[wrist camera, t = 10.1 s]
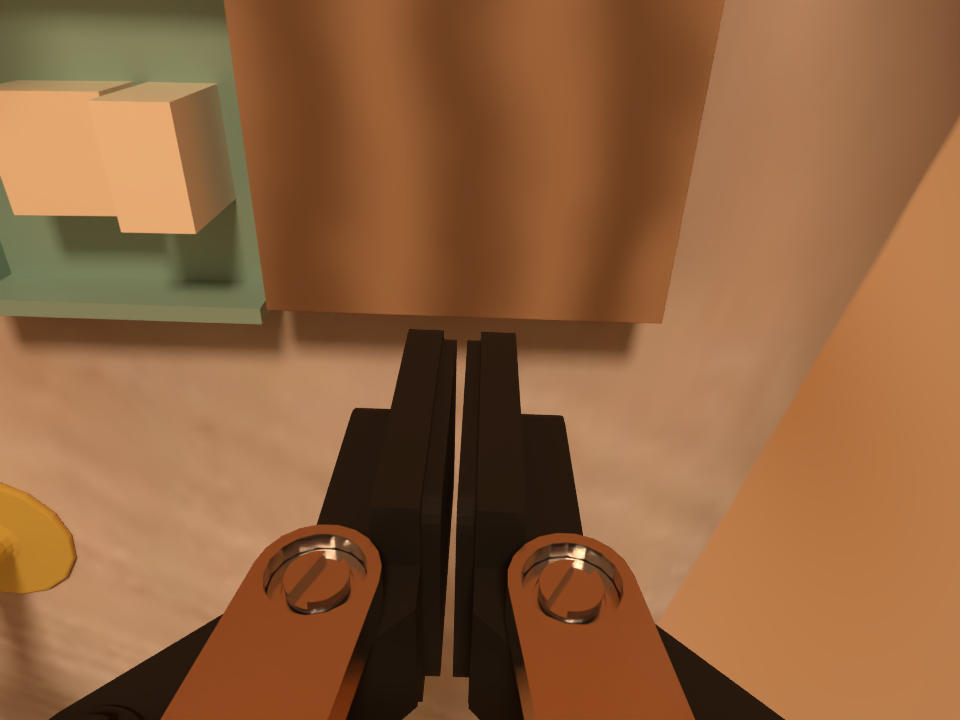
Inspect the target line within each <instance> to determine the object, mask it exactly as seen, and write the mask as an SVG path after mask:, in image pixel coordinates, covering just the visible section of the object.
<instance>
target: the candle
mask: <svg viewBox="0 0 960 720" xmlns="http://www.w3.org/2000/svg"><path fill="white" fill-rule="evenodd" d="M75 559H76V552H75V547H74V542H73V538H72V535H71V533H70V532H69V531H68V529H67V528H66V527H65V525H64V524H63V523H62V521H61V520H60V519H59V517H58V516H57V515H56V513H54V512H53V511H52V510H50V509H49V508H47V507H46V506H45V505H43V504H42V503H40V502H39V501H38V500H36V499H35V498H33V497H32V496H31V495H29V494H27V493H25V492H22V491H19V490H17V489H14V488H12V487H9V486H7V485H4V484H1V483H0V592H10V593H19V594H25V593H30V592H36V591H42V590H47V589H49V588H51V587H52V586H54V585H55V584H57V583H58V582H60V581H61V580H63V579H64V578H66V577H67V576H68V575H69V573H70V571H71V568H72V566H73V564H74V561H75Z"/></svg>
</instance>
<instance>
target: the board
mask: <svg viewBox="0 0 960 720" xmlns="http://www.w3.org/2000/svg"><path fill="white" fill-rule="evenodd" d="M724 2H725V0H224V6H225V13H226V21H227V28H228V35H229V42H230V49H231V56H232V63H233V71H234V78H235V85H236V92H237V99H238V106H239V113H240V120H241V128H242V135H243V142H244V149H245V156H246V163H247V170H248V178H249V185H250V192H251V199H252V206H253V213H254V220H255V228H256V235H257V242H258V249H259V256H260V263H261V270H262V278H263V285H264V292H265V299H266V306H267V310H277V311H306V312H336V313H365V314H394V315H424V316H453V317H482V318H512V319H541V320H571V321H600V322H629V323H659V324H662V320H663V315H664V310H665V305H666V300H667V294H668V289H669V284H670V279H671V274H672V269H673V264H674V258H675V253H676V248H677V243H678V238H679V233H680V228H681V223H682V217H683V212H684V207H685V202H686V197H687V192H688V187H689V181H690V176H691V171H692V166H693V161H694V156H695V151H696V146H697V140H698V135H699V130H700V125H701V120H702V115H703V110H704V104H705V99H706V94H707V89H708V84H709V79H710V74H711V68H712V63H713V58H714V53H715V48H716V43H717V38H718V33H719V27H720V22H721V17H722V12H723V7H724Z"/></svg>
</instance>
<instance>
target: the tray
mask: <svg viewBox="0 0 960 720" xmlns="http://www.w3.org/2000/svg"><path fill="white" fill-rule="evenodd" d="M15 80H52V81H134V86H136V85H139V84H142V83H146V82H170V83H213V84H217V85H218V91H219V97H220V103H221V109H222V115H223V122H224V128H225V134H226V140H227V146H228V152H229V158H230V164H231V170H232V176H233V182H234V188H235V194H236V199H235V200H234V201H233V202H232V203H230V204H229V205H228V206H227V207H226V208H225V209H224V210H223V211H221V212H220V213H219V214H218V215H217V216H216V217H215V218H213V219H212V220H211V221H210V222H209V223H208V224H207V225H206V226H204V227H203V228H202V229H201V230H200V231H199V232H198V233H197V234H169V233H124V232H121V230H120V226H119V222H118V218H117V216H47V215H14V213H13V210H12V207H11V204H10V202H9V199H8V196H7V193H6V190H5V187H4V185H3V182H2V179H1V176H0V316H27V317H56V318H86V319H115V320H145V321H175V322H204V323H234V324H263V322H264V321H265V319H266V318H267V316H268V314H269V313H270V311H271V310H267V306H266V299H265V292H264V285H263V278H262V270H261V263H260V256H259V249H258V242H257V235H256V228H255V220H254V213H253V206H252V199H251V192H250V185H249V178H248V170H247V163H246V156H245V149H244V142H243V135H242V128H241V120H240V113H239V106H238V99H237V92H236V85H235V78H234V71H233V63H232V56H231V49H230V42H229V35H228V28H227V21H226V13H225V6H224V0H0V84H2V83H6V82H11V81H15Z"/></svg>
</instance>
